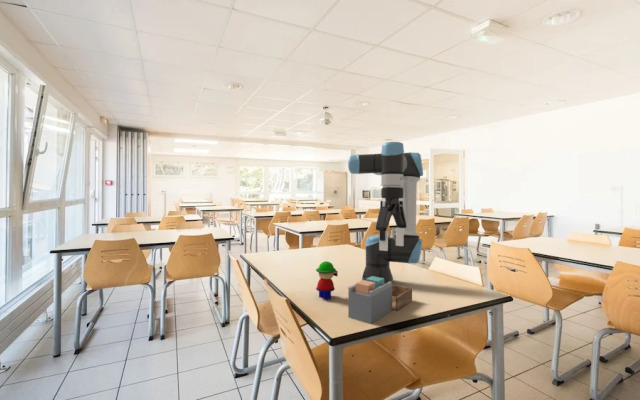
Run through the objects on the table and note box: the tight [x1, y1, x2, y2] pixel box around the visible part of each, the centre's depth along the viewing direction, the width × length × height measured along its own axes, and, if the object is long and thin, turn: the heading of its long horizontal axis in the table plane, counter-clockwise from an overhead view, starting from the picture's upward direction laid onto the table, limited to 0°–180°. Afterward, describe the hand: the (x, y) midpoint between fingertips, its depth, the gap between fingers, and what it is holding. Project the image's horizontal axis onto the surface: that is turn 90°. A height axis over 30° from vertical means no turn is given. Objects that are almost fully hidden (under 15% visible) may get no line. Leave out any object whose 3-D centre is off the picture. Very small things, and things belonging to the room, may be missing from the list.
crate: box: [384, 283, 413, 312], centre depth 121 cm, size 13×14×5 cm
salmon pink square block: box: [355, 279, 375, 294], centre depth 106 cm, size 5×5×3 cm
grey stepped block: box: [347, 280, 393, 324], centre depth 110 cm, size 9×16×10 cm, turn 141°
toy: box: [315, 260, 338, 301], centre depth 128 cm, size 9×9×15 cm
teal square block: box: [366, 276, 384, 288], centre depth 112 cm, size 5×5×3 cm
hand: (391, 248), depth 105 cm, fingers open, 13 cm apart
